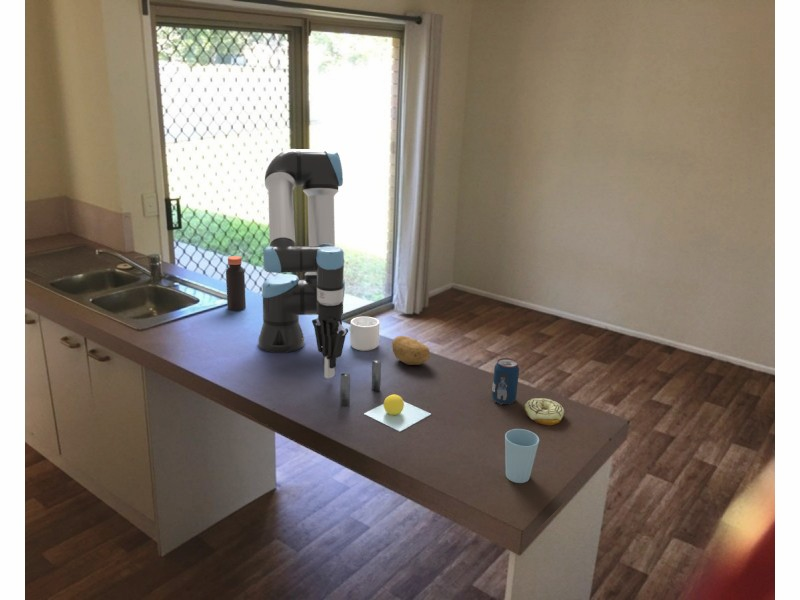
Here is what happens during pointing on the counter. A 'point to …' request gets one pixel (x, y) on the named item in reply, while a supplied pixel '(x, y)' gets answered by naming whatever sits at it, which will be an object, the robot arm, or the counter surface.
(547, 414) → the decorated donut
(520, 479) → the cup
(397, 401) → the ball
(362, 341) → the mug
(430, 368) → the counter surface
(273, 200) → the robot arm
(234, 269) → the bottle
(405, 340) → the potato
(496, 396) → the soda can
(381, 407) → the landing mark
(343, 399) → the post
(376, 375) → the post
